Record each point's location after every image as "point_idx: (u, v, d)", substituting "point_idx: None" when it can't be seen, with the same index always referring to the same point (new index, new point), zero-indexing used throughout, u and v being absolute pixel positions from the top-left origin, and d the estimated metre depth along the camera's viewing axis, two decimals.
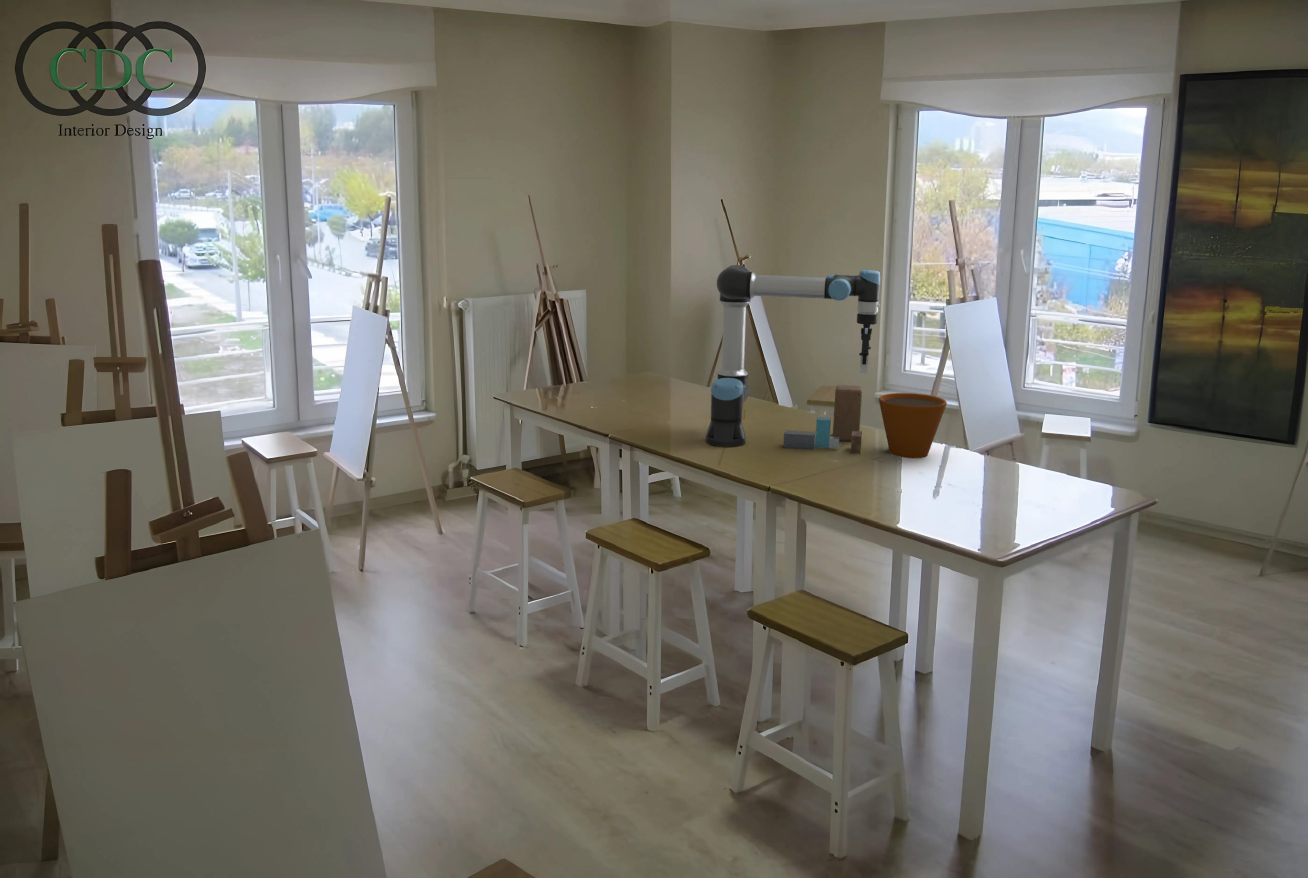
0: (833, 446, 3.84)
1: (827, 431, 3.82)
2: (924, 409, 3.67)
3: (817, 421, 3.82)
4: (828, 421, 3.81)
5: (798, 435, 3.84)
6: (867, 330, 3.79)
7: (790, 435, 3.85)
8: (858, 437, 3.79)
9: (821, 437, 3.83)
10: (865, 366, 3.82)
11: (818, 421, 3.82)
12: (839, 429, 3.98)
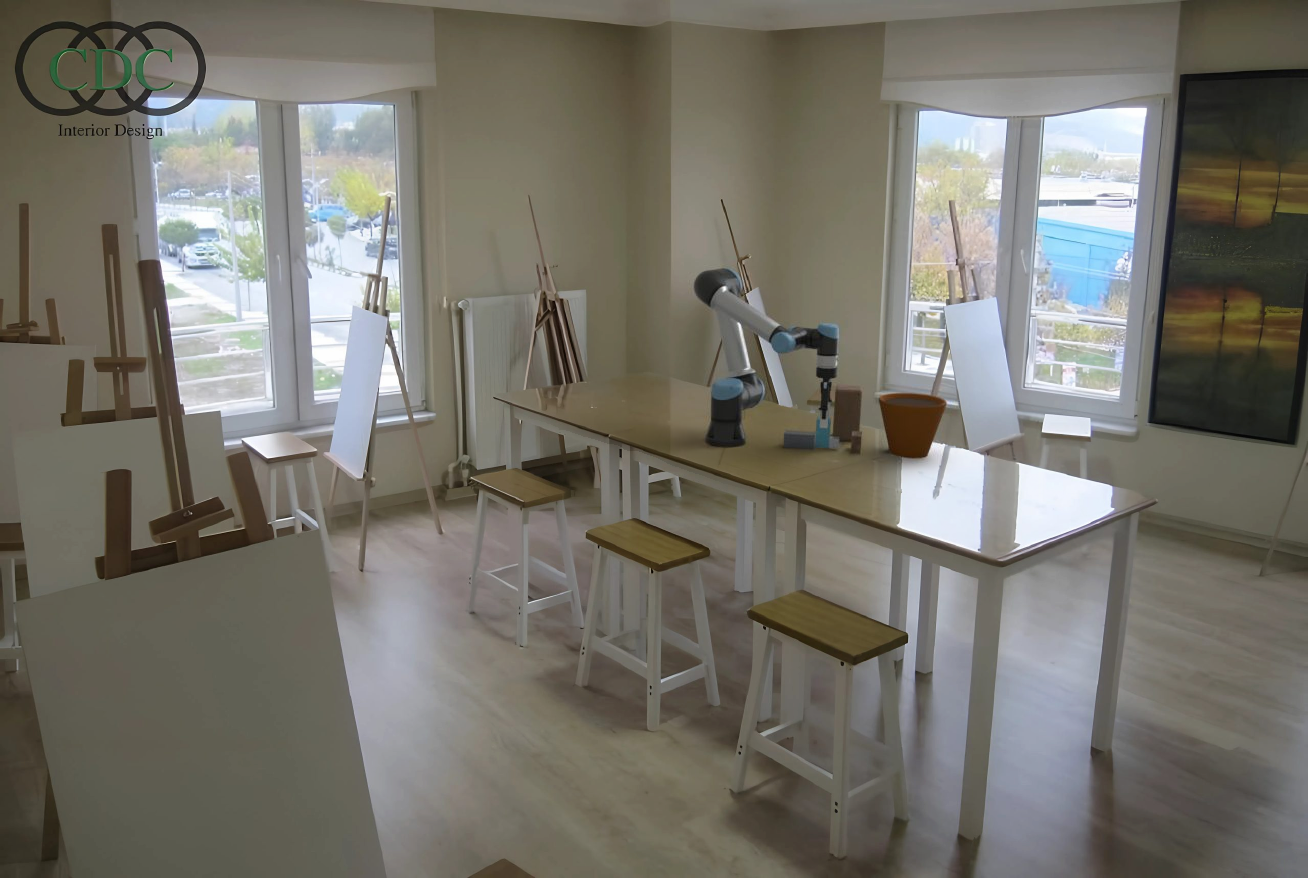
0: (833, 446, 3.84)
1: (827, 431, 3.82)
2: (924, 409, 3.67)
3: (817, 421, 3.82)
4: (828, 421, 3.81)
5: (798, 435, 3.84)
6: (826, 385, 3.74)
7: (790, 435, 3.85)
8: (858, 437, 3.79)
9: (821, 437, 3.83)
10: (825, 421, 3.76)
11: (818, 421, 3.82)
12: (839, 429, 3.98)
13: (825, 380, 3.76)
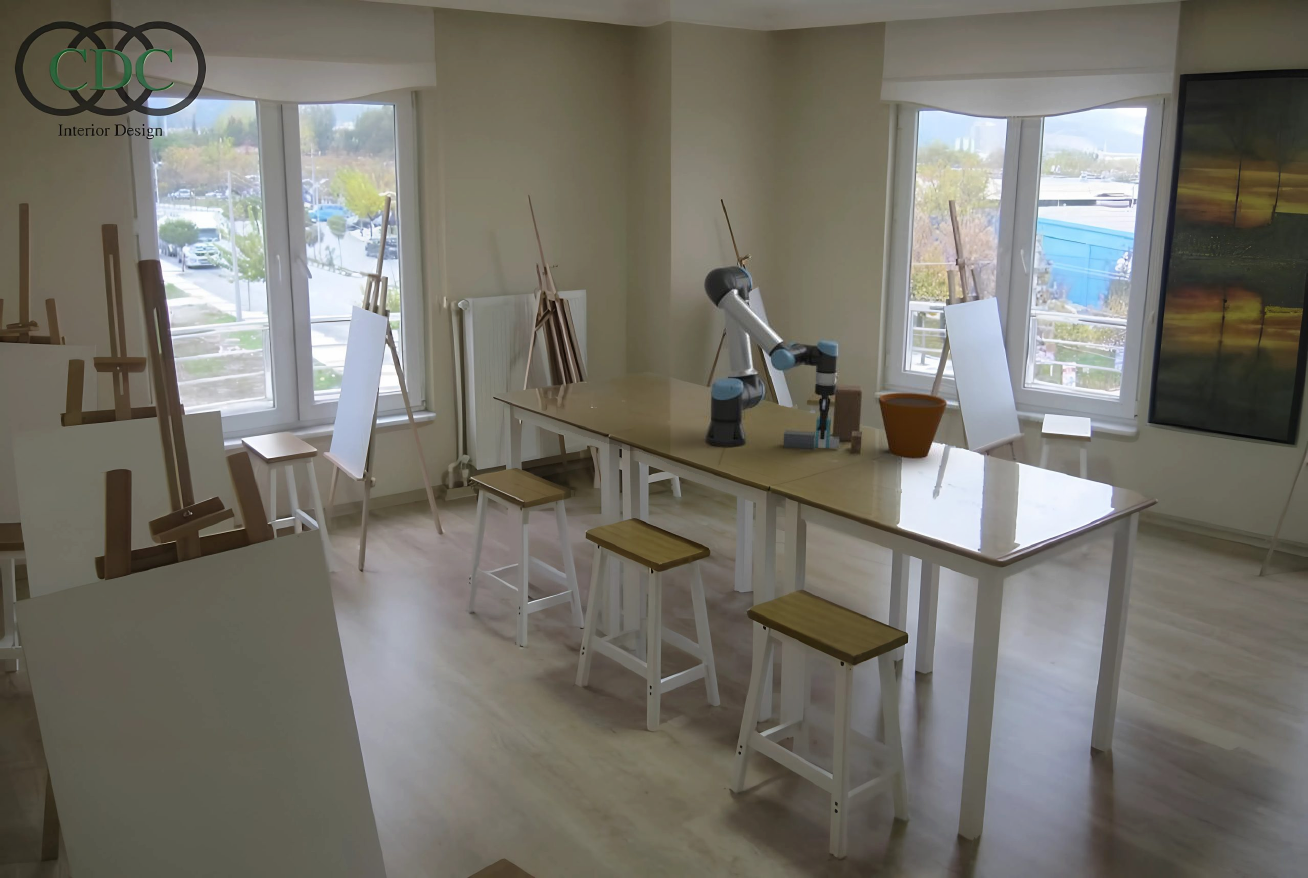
0: (833, 446, 3.84)
1: (827, 431, 3.82)
2: (924, 409, 3.67)
3: (817, 421, 3.82)
4: (828, 421, 3.81)
5: (798, 435, 3.84)
6: (824, 406, 3.76)
7: (790, 435, 3.85)
8: (858, 437, 3.79)
9: None
10: (823, 441, 3.83)
11: (818, 421, 3.82)
12: (839, 429, 3.98)
13: (824, 397, 3.78)
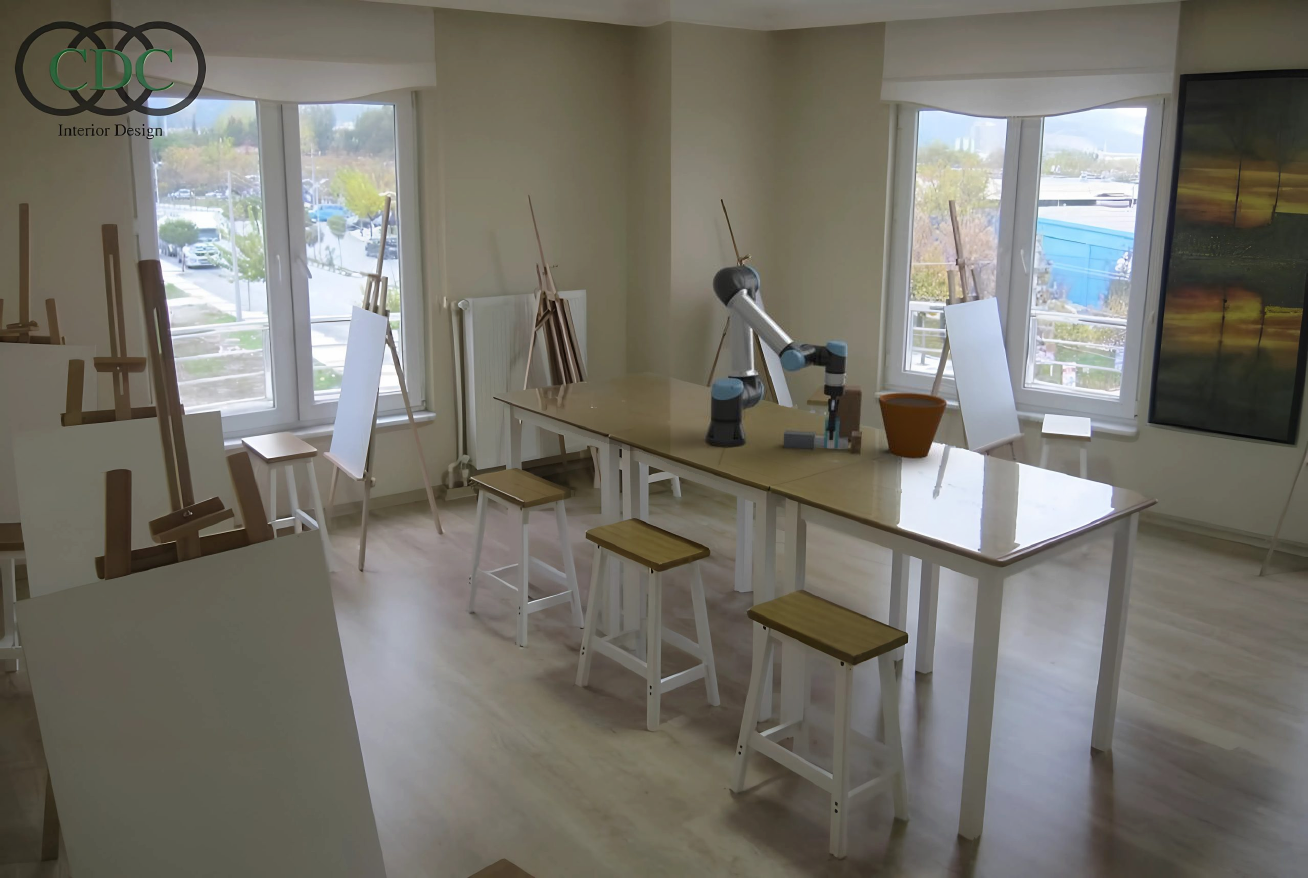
0: (842, 447, 3.83)
1: (836, 432, 3.82)
2: (924, 409, 3.67)
3: (826, 422, 3.82)
4: (837, 422, 3.81)
5: (798, 435, 3.84)
6: (833, 407, 3.75)
7: (790, 435, 3.85)
8: (858, 437, 3.79)
9: None
10: (832, 441, 3.82)
11: (827, 422, 3.81)
12: (839, 429, 3.98)
13: (833, 398, 3.77)
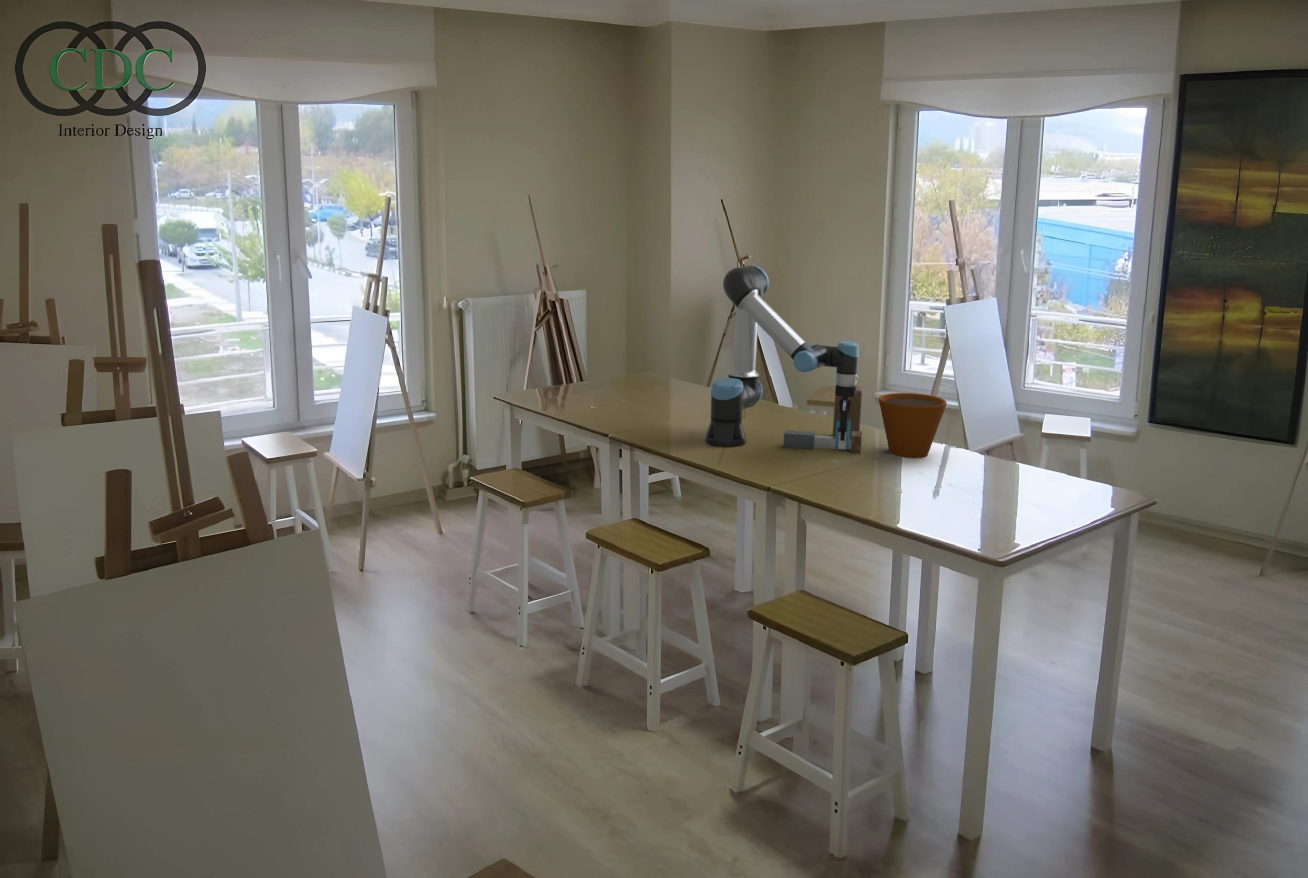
0: None
1: (848, 432, 3.81)
2: (924, 409, 3.67)
3: (837, 422, 3.81)
4: (848, 422, 3.80)
5: (798, 435, 3.84)
6: (845, 408, 3.75)
7: (790, 435, 3.85)
8: (858, 437, 3.79)
9: None
10: (843, 442, 3.81)
11: (838, 422, 3.81)
12: None
13: (844, 398, 3.77)
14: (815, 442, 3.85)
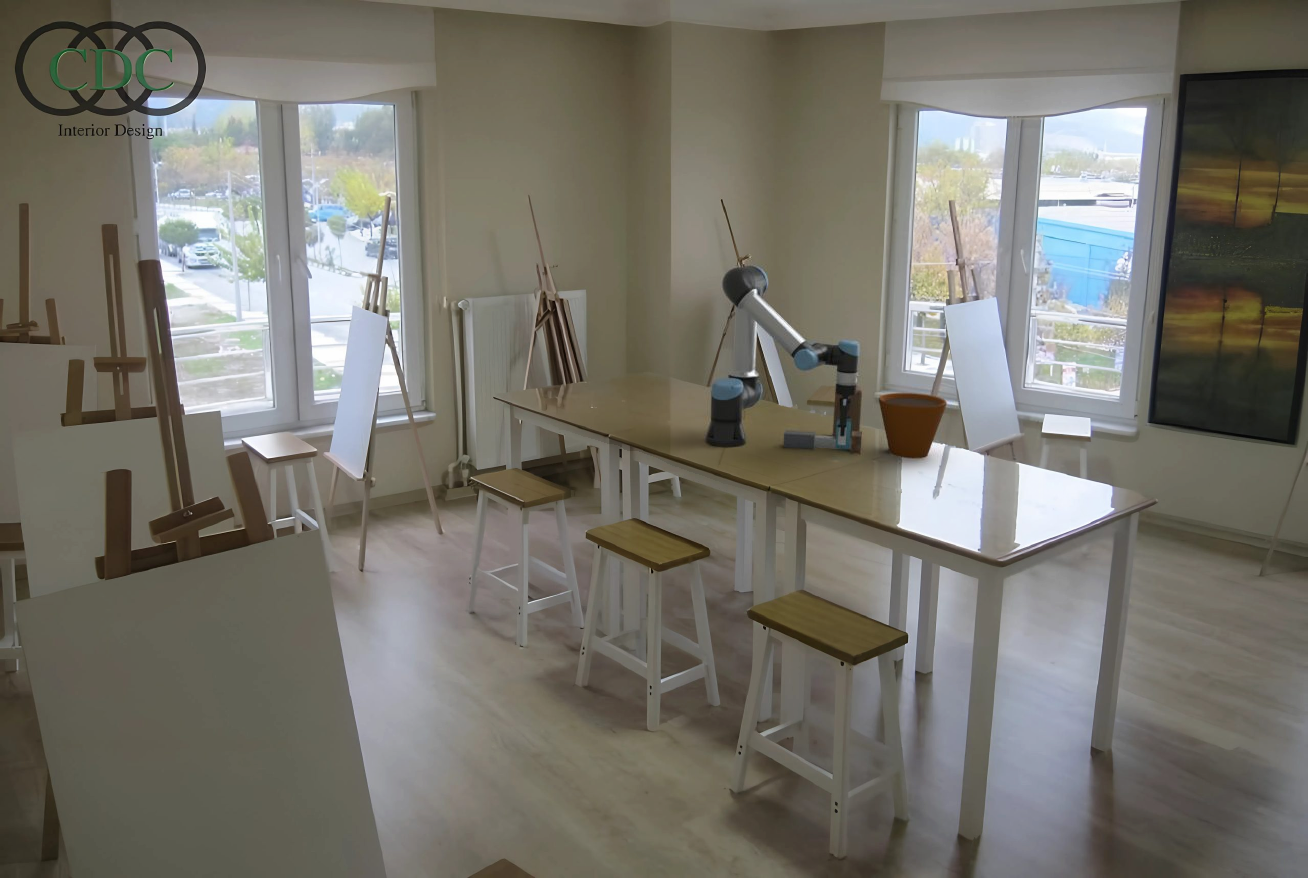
0: None
1: (848, 432, 3.81)
2: (924, 409, 3.67)
3: (837, 422, 3.81)
4: (849, 422, 3.80)
5: (798, 435, 3.84)
6: (845, 402, 3.74)
7: (790, 435, 3.85)
8: (858, 437, 3.79)
9: None
10: (843, 438, 3.77)
11: (838, 422, 3.81)
12: None
13: (844, 397, 3.77)
14: (815, 442, 3.85)
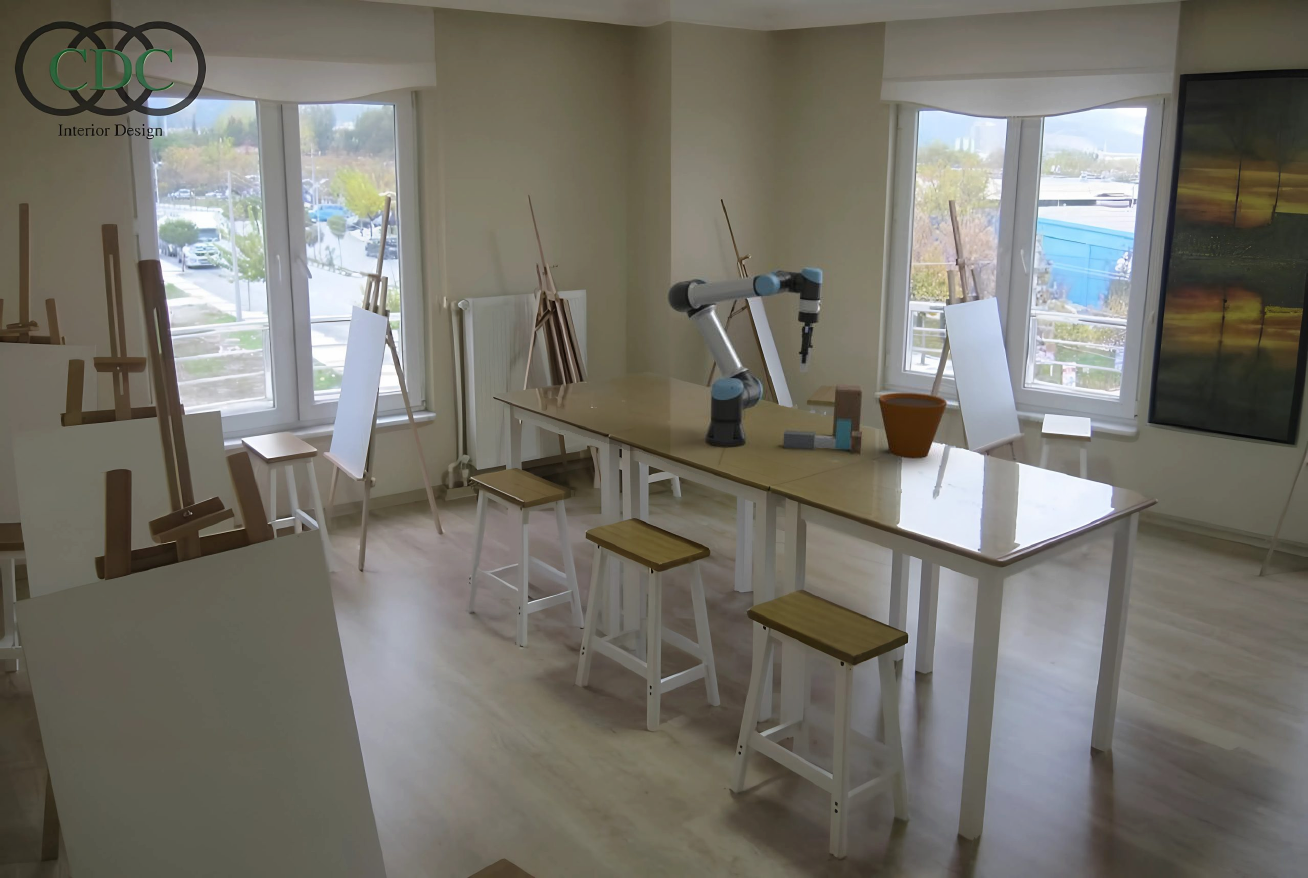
0: None
1: (848, 432, 3.81)
2: (924, 409, 3.67)
3: (837, 422, 3.81)
4: (849, 422, 3.80)
5: (798, 435, 3.84)
6: (807, 329, 3.75)
7: (790, 435, 3.85)
8: (858, 437, 3.79)
9: (841, 438, 3.82)
10: (805, 365, 3.78)
11: (838, 422, 3.81)
12: None
13: (807, 324, 3.77)
14: (815, 442, 3.85)
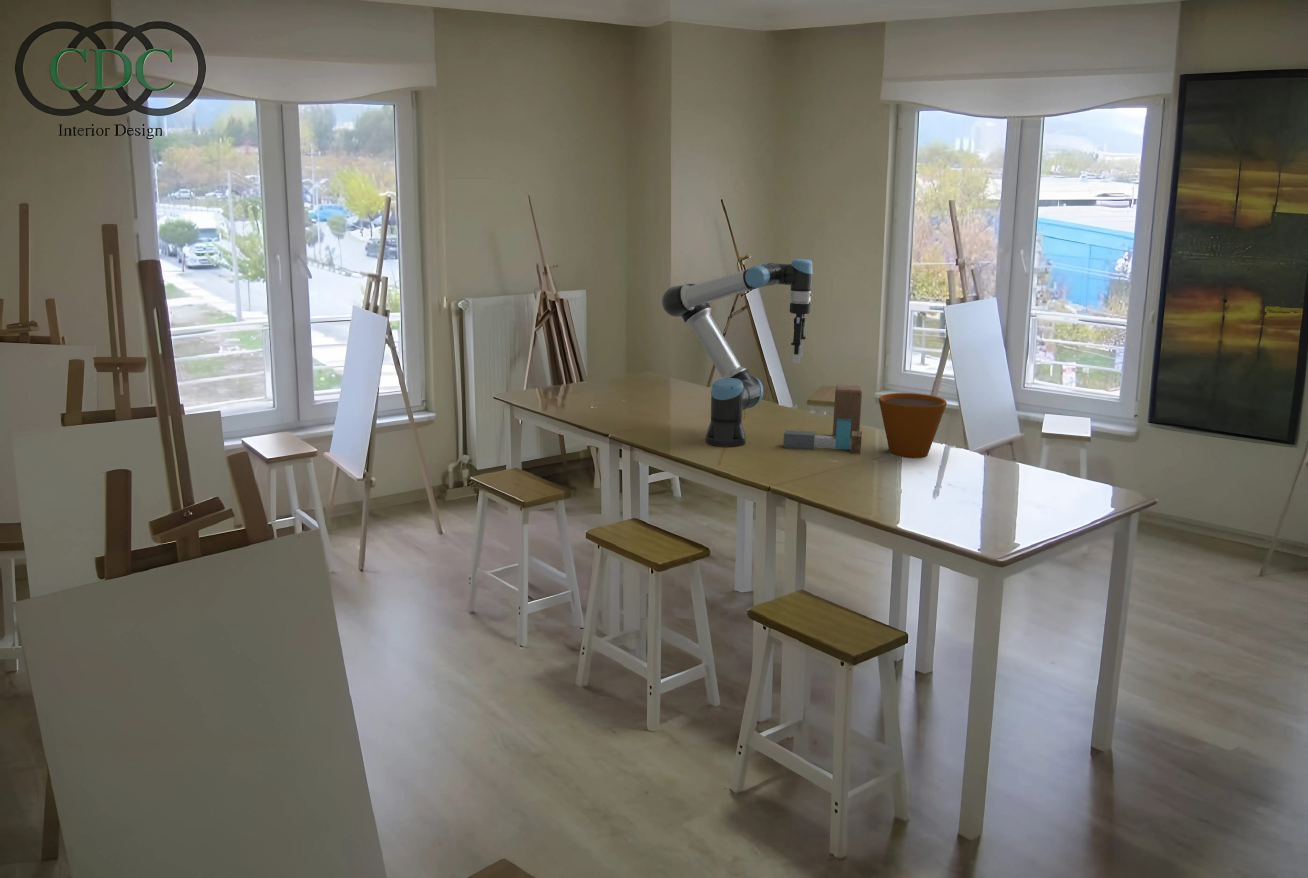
0: None
1: (848, 432, 3.81)
2: (924, 409, 3.67)
3: (837, 422, 3.81)
4: (849, 422, 3.80)
5: (798, 435, 3.84)
6: (799, 319, 3.75)
7: (790, 435, 3.85)
8: (858, 437, 3.79)
9: (841, 438, 3.82)
10: (797, 356, 3.78)
11: (838, 422, 3.81)
12: None
13: (798, 315, 3.78)
14: (815, 442, 3.85)
